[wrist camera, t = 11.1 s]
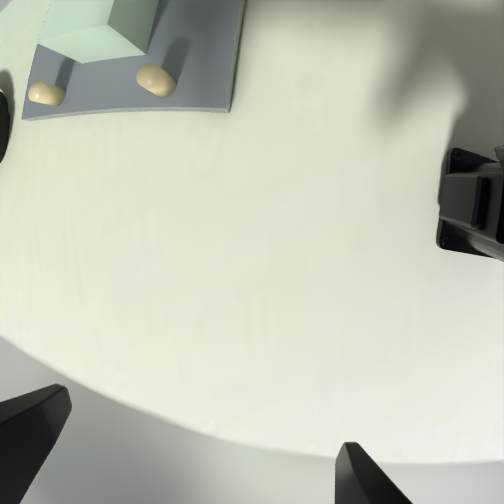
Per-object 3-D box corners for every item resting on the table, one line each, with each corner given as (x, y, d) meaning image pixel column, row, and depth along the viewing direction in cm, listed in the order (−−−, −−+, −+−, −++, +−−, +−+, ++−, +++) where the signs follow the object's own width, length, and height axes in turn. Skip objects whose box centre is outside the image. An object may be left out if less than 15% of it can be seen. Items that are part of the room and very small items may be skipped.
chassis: (254, -54, 14) (249, -84, 11) (229, 112, 17) (216, 97, 14) (70, -24, 15) (48, -40, 12) (31, 120, 19) (-1, 116, 15)
